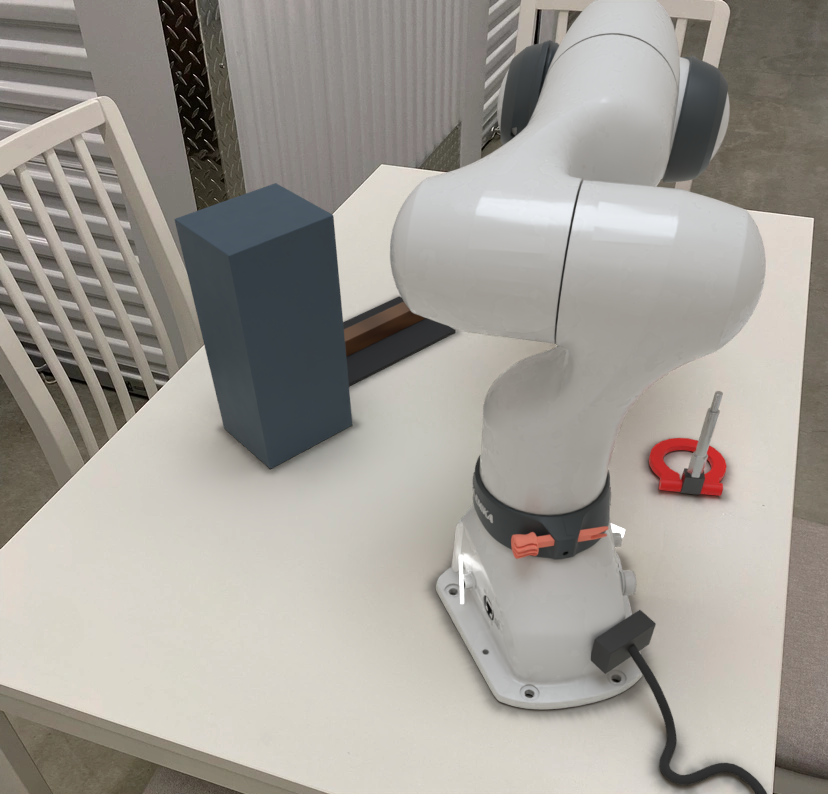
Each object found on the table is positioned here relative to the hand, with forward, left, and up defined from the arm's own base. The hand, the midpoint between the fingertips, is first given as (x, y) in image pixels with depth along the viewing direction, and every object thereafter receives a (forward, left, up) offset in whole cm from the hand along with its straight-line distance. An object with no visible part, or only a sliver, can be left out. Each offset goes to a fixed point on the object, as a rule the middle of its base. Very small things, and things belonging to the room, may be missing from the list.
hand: (468, 258), depth 115 cm
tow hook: (-42, -15, -6) cm, 45 cm away
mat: (-9, +16, -6) cm, 19 cm away
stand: (-25, +28, -6) cm, 38 cm away
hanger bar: (-9, +15, -5) cm, 18 cm away
